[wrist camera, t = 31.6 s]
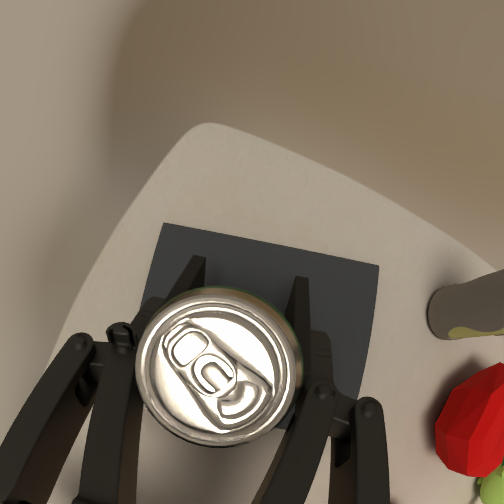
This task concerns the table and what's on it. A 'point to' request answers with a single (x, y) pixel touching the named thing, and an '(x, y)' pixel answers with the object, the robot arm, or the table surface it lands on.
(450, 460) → the apple
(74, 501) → the robot arm
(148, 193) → the table surface
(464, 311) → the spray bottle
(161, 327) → the soda can
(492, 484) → the teapot
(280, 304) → the mat
